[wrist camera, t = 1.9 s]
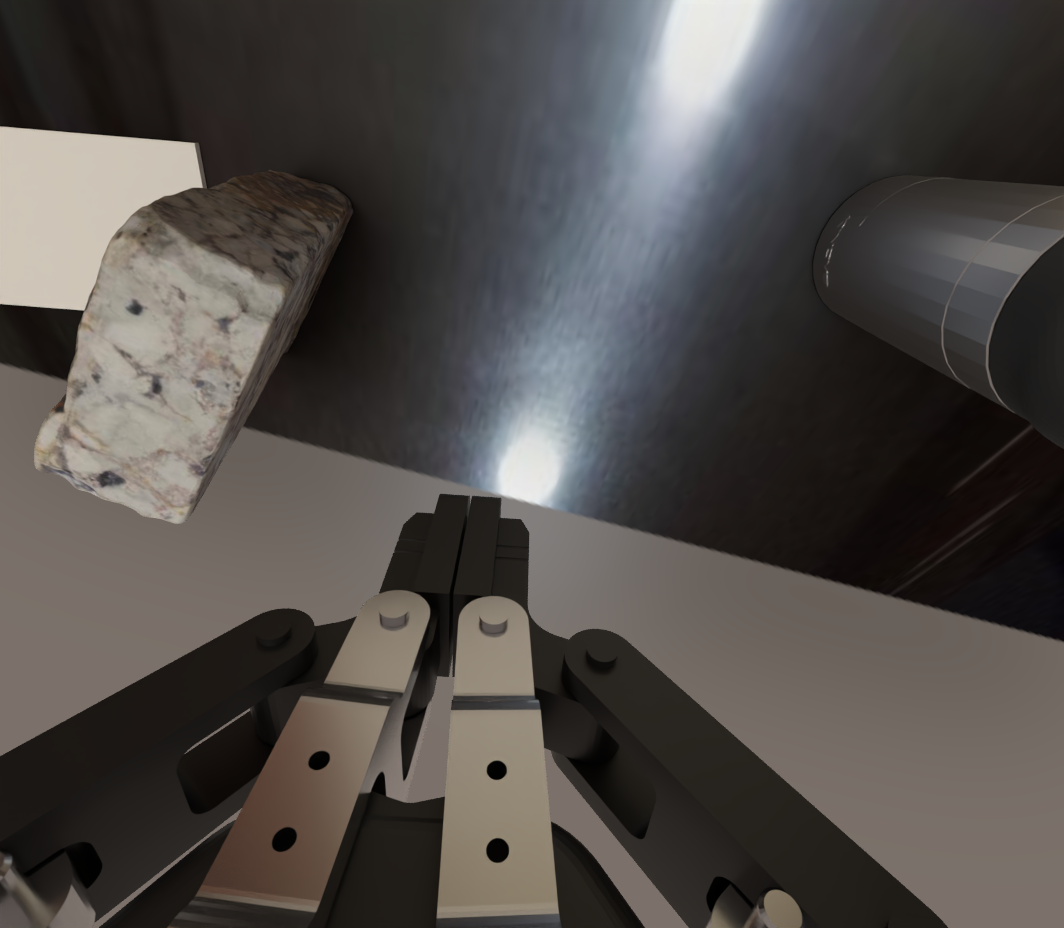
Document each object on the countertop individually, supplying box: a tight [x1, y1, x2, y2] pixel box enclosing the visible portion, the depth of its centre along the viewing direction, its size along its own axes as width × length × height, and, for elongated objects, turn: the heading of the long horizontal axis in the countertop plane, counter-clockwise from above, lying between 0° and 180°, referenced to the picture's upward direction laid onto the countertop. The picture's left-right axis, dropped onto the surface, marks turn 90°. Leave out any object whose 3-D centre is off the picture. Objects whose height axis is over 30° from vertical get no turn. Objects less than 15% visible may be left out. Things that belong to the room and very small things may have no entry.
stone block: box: [34, 170, 353, 524], centre depth 30 cm, size 13×7×20 cm, turn 151°
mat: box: [0, 126, 207, 310], centre depth 38 cm, size 18×11×1 cm, turn 86°
